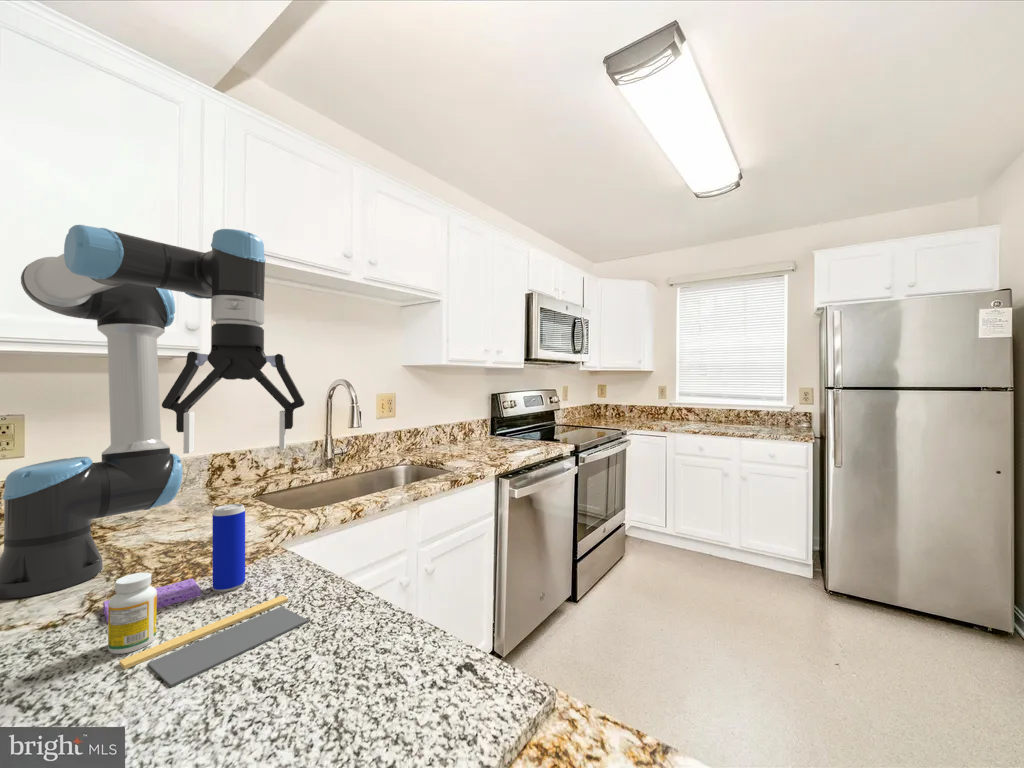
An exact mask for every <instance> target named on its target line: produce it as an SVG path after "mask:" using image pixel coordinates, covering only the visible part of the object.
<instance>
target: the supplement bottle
mask: <svg viewBox="0 0 1024 768" xmlns="http://www.w3.org/2000/svg"><path fill="white" fill-rule="evenodd" d="M114 582H115V583H114V592H115V594H114V595H113V596H112V597H111V598H110V599H109V600H110V601H109V605H108V623H107V625H108V626H107V629H108V630H107V632H108V633H107V635H108V636H107V637H108V638H107V644H108V645H107V647H108V652H109V653H111V654H114V655H122V654H124V655H125V654H128V653H132V652H135V651H139V650H140V649H143V648H145V647H147V646H148V645H150V644H151V643H152V642H153V641H155V639H156V637H157V618H158V617H157V616H158V615H157V613H158V609H157V591H156V589H155V587H154V586H152V585H151V584H152V573H150V572H137V573H131V574H127V575H125V576H122V577H120V578H118V579H116V581H114Z"/></svg>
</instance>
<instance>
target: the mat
mask: <svg viewBox="0 0 1024 768" xmlns="http://www.w3.org/2000/svg"><path fill="white" fill-rule="evenodd" d="M308 622H309V619H308V618H305V617H303V616H301V615H300V614H297V613H295V612H293V611H291V610H289V609H287V608H286V607H283V606H278V607H277V608H274V609H272V610H269V611H267V612H265V613H263V614H261V615H258V616H256V617H253V618H251V619H248V620H247V621H244V622H240V623H239V624H237V625H234V626H232V627H229V628H227V629H225V630H223V631H220V632H217V633H216V634H213V635H210V636H208V637H206V638H204V639H201V640H199V641H197V642H194V643H191V644H190V645H187V646H185V647H182V648H179V649H178V650H175V651H172V652H170V653H168V654H166V655H164V656H161V657H158V658H155V659H153V660H152V661H149V662H147V663H146V665H147V667H149V668H150V669H151V670H152V671H153V672H154V674H156V675H157V677H159V678H160V679H161V680H162V681H163V682H164V683H166V685H168V686H169V688H172V687H175V686H177V685H179V684H181V683H183V682H186V681H188V680H189V679H192V678H194V677H196V676H198V675H200V674H202V673H204V672H206V671H209V670H210V669H212V668H214V667H217V666H219V665H221V664H223V663H225V662H227V661H229V660H231V659H233V658H235V657H238V656H241V655H242V654H244V653H246V652H248V651H251V650H252V649H255V648H256V647H260V646H261V645H262V644H264V643H268V642H269V641H272V640H273V639H276V638H278V637H279V636H282V635H284V634H286V633H288V632H290V631H292V630H294V629H296V628H299V627H301V626H302V625H305V624H307V623H308ZM216 665H217V666H216Z"/></svg>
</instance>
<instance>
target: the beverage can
mask: <svg viewBox="0 0 1024 768" xmlns="http://www.w3.org/2000/svg"><path fill="white" fill-rule="evenodd" d="M245 582H246V508H245V506H244V504H241V503H230V504H229V503H228V504H224V505H219V506H217V507H214V510H213V512H212V589H213V590H214V591H215V592H217V593H226V592H227V593H228V592H233V591H234V590H237V588H238V589H240V588H241V587H242V586H243V585H244V583H245Z"/></svg>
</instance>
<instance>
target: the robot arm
mask: <svg viewBox="0 0 1024 768" xmlns="http://www.w3.org/2000/svg"><path fill="white" fill-rule="evenodd" d="M210 247H211V250H210V251H206V252H203V251H198V250H194V249H189V248H186V247H181V246H177V245H172V244H170V243H169V244H168V243H163V242H160V241H154V240H150V239H148V238H142V237H139V236H134V235H130V234H126V233H122V232H118V231H115V230H114V231H113V230H111V229H108V228H107V227H95V226H89V225H85V224H74V225H73V226H71V227H70V228H69V229H68V232H67V234H66V236H65V238H64V247H63V253H62V254H60V255H58V256H45V257H41V258H38V259H36V260H34V261H32V262H30V263H29V264H27V265H26V266H25V267H24V269H23V270H22V272H21V276H20V284H21V287H22V289H23V291H24V292H25V294H26V295H27V296H28V297H29V299H31V300H32V301H33V302H34V303H36V304H37V305H38V306H41V307H42V308H45V309H47V310H49V311H51V312H52V313H56V314H58V315H61V316H62V315H63V316H66V317H70V318H74V319H75V318H78V319H84V320H92V321H96V323H97V325H96V326H97V331H98V332H100V333H101V334H102V335H104V336H105V337H106V339H107V340H106V341H107V342H106V343H107V365H108V366H107V367H108V369H107V370H108V372H107V373H108V396H109V397H108V399H109V425H110V426H109V429H110V431H109V432H110V435H109V436H110V445H109V446H108V447H107V448H106V449H105V450H103V451H102V452H101V461H98V462H93V460H92V459H91V457H89V456H77V457H76V456H75V457H68V458H61V459H60V458H59V459H54V460H53V459H52V460H49V461H43V462H39V463H35V464H30V465H26V466H22V467H19V468H18V469H14V470H13V471H11V472H10V473H9V474H8V475H7V476H6V477H5V480H4V482H5V483H4V488H3V489H4V491H3V495H2V500H3V501H4V502H3V504H4V507H3V508H4V509H3V513H4V514H3V516H4V517H3V519H4V520H3V524H4V525H3V526H4V527H3V551H2V554H1V556H0V600H4V599H5V600H7V599H8V600H9V599H18V598H19V599H20V598H26V597H32V596H37V595H42V594H43V595H45V594H47V593H51V592H55V591H59V590H63V589H66V588H69V587H73V586H77V585H78V584H81V583H83V582H86V581H88V580H91V579H92V577H93V578H94V577H96V576H97V575H96V574H98V573H99V572H100V571H101V570H102V571H103V557H102V556H101V553H100V550H99V549H98V547H97V544H96V543H95V541H94V539H93V536H92V530H91V528H92V526H91V525H92V520H96V519H102V518H106V517H112V516H117V515H122V514H127V513H132V512H137V511H145V510H146V511H147V510H151V509H152V508H157V507H161V506H166V505H168V504H169V503H171V502H172V501H173V500H174V499H175V497H176V496H177V494H178V493H179V490H180V488H181V485H182V480H183V464H182V460H181V458H180V456H179V455H178V454H175V453H171V448H170V447H171V446H170V445H169V444H167V443H165V442H164V441H163V440H162V433H161V431H162V429H161V428H162V427H161V407H162V408H163V409H166V410H172V411H174V413H175V414H176V416H175V417H176V419H175V420H176V421H175V423H176V426H175V427H176V428H175V429H176V431H177V433H183V449H182V450H183V454H191V453H193V452H195V432H196V431H195V429H196V427H195V425H196V424H195V422H196V421H195V419H196V416H195V415H196V412H195V411H190V409H191V408H192V407H193V406H194V405H196V404H197V402H199V400H201V399H202V398H203V396H205V394H206V393H208V392H209V391H210V390H211V389H212V388H213V387H214V386H215V385H216V384H217V383H218V382H219V381H221V380H222V379H225V380H230V381H231V380H232V381H233V380H242V381H244V380H248V381H250V380H252V379H255V380H256V381H257V383H259V384H260V385H261V386H262V387H263V388H264V389H265V390H266V392H267V393H269V395H271V397H272V398H274V400H275V401H276V402H277V403H278V404H279V405H280V406H281V407H282V408H283V410H280V411H279V421H278V422H279V423H278V424H279V427H278V428H279V434H278V437H279V439H278V440H279V443H278V445H279V447H278V448H279V450H285V449H286V447H287V430H291V429H292V428H293V426H294V411H295V410H296V409H298V408H301V407H303V406H305V400H304V399H303V397H302V395H301V393H300V391H299V389H298V388H297V386H296V384H295V382H294V380H293V378H292V377H291V375H290V373H289V371H288V369H287V368H286V361H285V356H284V355H283V354H281V353H276V355H266V354H265V329H264V328H263V327H262V326H263V325H264V324H265V279H266V278H265V274H266V273H265V272H266V268H265V267H266V258H265V243H264V240H262V238H260V237H259V236H258V235H256V234H254V233H253V232H248V231H244V230H240V229H233V228H220V229H217V230H215V231H214V232H213V233H212V241H211V244H210ZM172 291H173V292H179V293H180V292H181V293H184V294H186V295H188V296H189V297H191V298H194V299H195V298H196V299H206V300H208V299H211V320H212V321H213V322H215V323H213V324H212V325H211V331H210V333H211V334H210V335H211V336H210V338H211V339H210V340H211V342H210V343H211V344H210V345H211V348H210V351H209V353H208V354H206V353H199V352H197V351H189V352H187V356H186V361H185V365H184V367H183V369H182V371H181V372H180V374H179V375H178V376H177V378H176V380H175V381H174V383H173V385H172V387H171V388H170V390H168V391H169V392H168V393H167V395H166V396H165V398H164V399H163V401H162V403H161V402H160V384H159V383H160V381H159V380H160V378H159V360H158V358H159V357H158V356H159V355H158V338H160V337H161V336H163V334H165V331H166V330H165V328H166V327H167V328H168V327H169V326H172V324H173V322H174V319H175V315H174V314H176V302H175V299H174V298H175V297H174V295H173V292H172ZM206 362H208V363H209V365H211V366H212V368H213V370H211V371H210V372H209V373H208V374H207V376H206V377H205V378H204V379H203V380H202V381H201V382H200V383H199V384H198V385H197V386H196V387H195V388H194V389H192V391H191V392H190V393H188V394H187V396H186V397H184V399H182V400H181V402H179V401H180V399H181V398H182V396H183V395H184V394H185V391H186V390H187V388H188V387H189V385H190V383H191V381H192V380H193V378H194V377H195V376H196V374H197V371H198V370H199V367H202V366H204V364H205V363H206ZM267 363H270V365H271V367H273V368H276V371H277V373H278V375H279V376H280V378H281V380H282V382H283V383H284V386H285V387H286V389H287V391H288V393H289V394H290V396H291V398H292V400H293V401H292V402H291V401H290V400H289V399H288V398H287V397H286V396H285V395H284V393H282V392H281V391H280V389H278V388H277V386H276V385H274V383H273V382H272V381H271V380H270V379H269V378H268V377H267V376H266V374H264V372H263V371H262V369H263V368H264V366H265V365H266V364H267ZM160 403H161V404H160ZM160 405H161V406H160ZM102 571H101V572H102ZM101 572H100V573H101ZM100 573H99V574H100ZM99 574H98V575H99ZM95 575H96V576H95ZM90 578H91V579H90Z"/></svg>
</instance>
